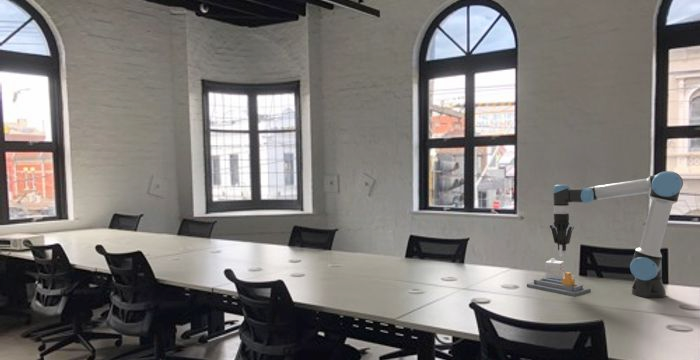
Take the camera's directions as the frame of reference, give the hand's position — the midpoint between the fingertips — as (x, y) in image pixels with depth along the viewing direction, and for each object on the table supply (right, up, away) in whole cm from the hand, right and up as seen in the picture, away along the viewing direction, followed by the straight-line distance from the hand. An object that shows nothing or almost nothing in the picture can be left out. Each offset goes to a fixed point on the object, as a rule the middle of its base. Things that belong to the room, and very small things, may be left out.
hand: (562, 256), depth 268 cm
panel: (-1, -18, +2) cm, 18 cm away
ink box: (+4, -18, +20) cm, 27 cm away
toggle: (+2, -16, -3) cm, 17 cm away
